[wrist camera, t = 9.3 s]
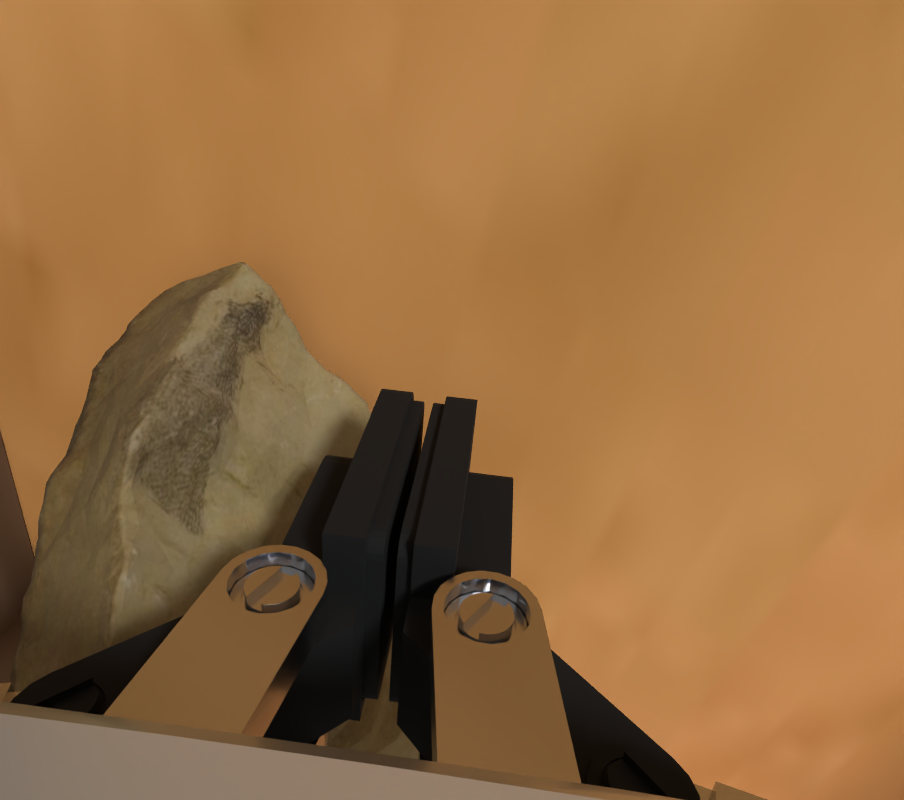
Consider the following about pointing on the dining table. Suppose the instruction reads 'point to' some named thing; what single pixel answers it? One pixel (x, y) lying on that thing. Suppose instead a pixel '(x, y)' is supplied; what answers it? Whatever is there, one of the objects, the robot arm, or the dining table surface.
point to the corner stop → (11, 567)
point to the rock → (186, 476)
